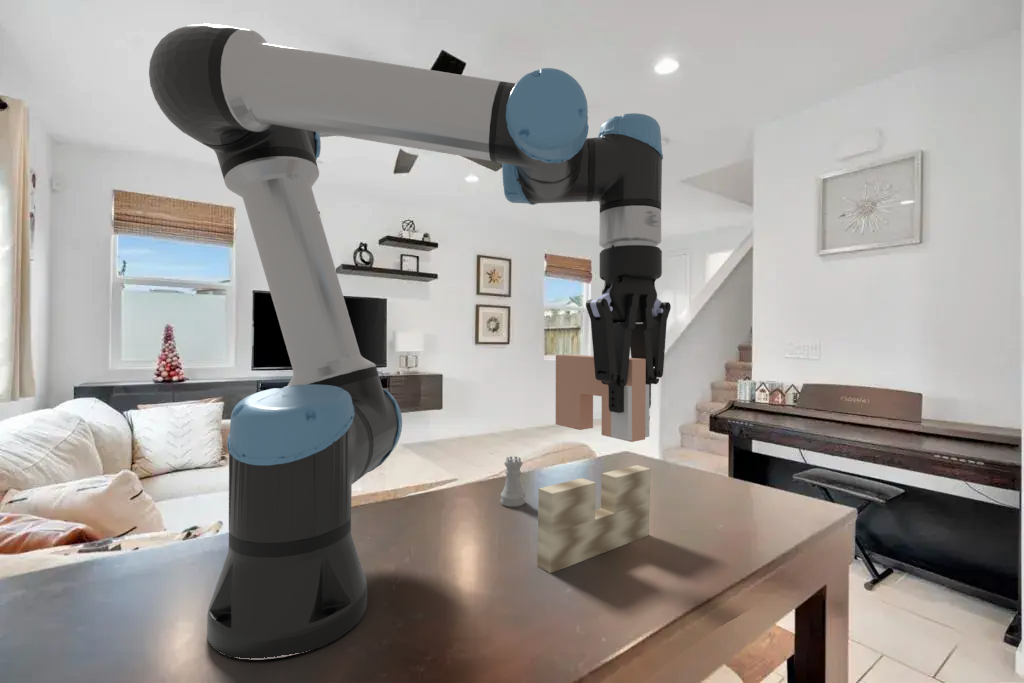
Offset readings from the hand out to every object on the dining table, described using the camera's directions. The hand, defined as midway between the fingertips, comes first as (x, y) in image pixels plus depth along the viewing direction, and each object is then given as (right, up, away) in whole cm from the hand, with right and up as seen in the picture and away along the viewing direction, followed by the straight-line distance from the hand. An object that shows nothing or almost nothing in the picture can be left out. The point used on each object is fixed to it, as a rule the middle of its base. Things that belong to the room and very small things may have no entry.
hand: (630, 436), depth 62 cm
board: (-3, -17, +7) cm, 19 cm away
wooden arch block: (-3, 0, +5) cm, 6 cm away
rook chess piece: (-15, -17, +25) cm, 34 cm away
